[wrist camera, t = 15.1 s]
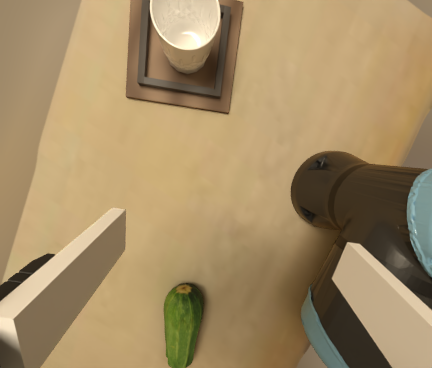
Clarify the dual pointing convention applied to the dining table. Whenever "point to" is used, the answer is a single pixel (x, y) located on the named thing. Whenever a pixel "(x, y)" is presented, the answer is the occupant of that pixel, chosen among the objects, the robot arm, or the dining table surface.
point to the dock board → (168, 76)
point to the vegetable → (182, 324)
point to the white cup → (186, 30)
